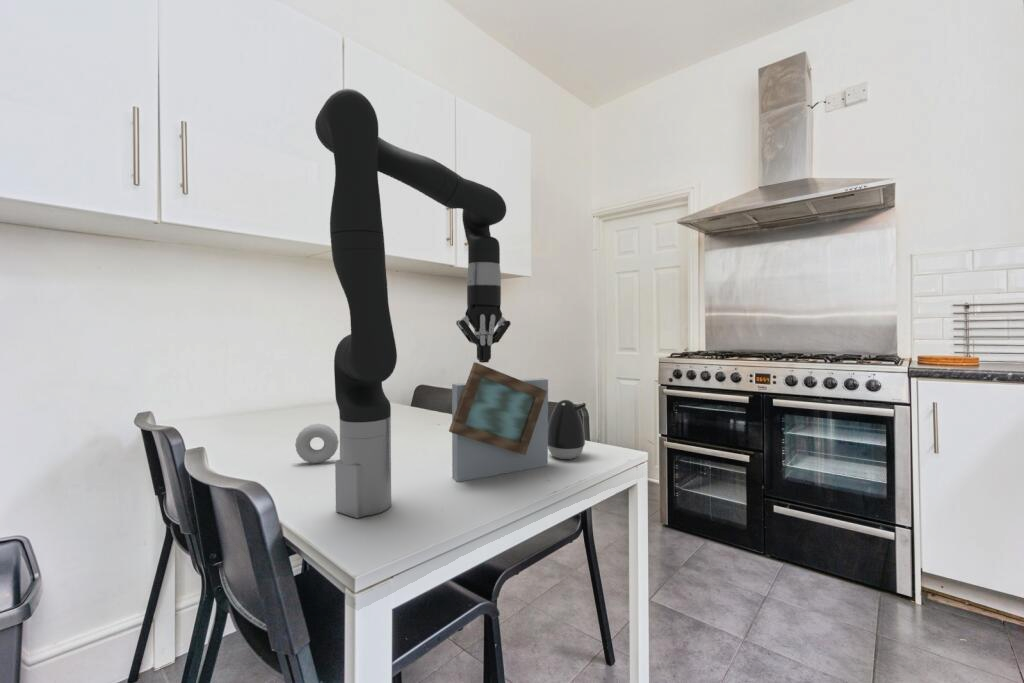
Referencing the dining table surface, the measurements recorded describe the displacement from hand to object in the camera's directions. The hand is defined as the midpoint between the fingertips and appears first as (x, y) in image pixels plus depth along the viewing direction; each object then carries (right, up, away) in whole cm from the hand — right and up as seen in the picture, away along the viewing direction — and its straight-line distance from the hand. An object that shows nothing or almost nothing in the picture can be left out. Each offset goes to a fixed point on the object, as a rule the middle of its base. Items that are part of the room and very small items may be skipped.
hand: (484, 362), depth 99 cm
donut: (-43, -26, +12) cm, 52 cm away
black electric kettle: (+21, -26, +18) cm, 38 cm away
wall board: (+4, -26, +6) cm, 27 cm away
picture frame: (+1, -19, +1) cm, 19 cm away
